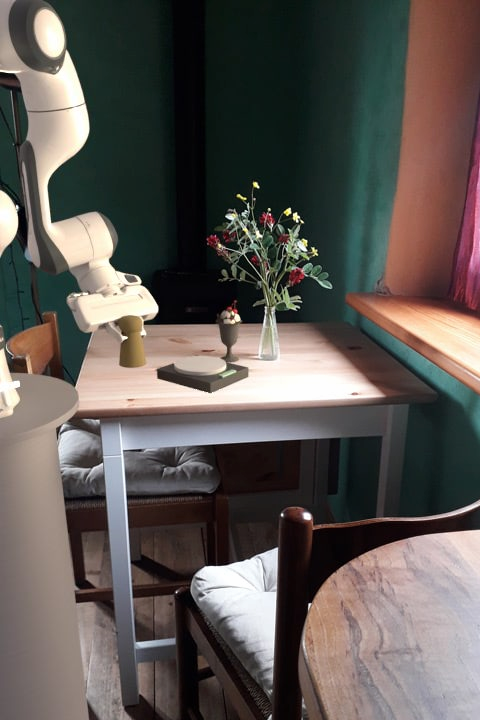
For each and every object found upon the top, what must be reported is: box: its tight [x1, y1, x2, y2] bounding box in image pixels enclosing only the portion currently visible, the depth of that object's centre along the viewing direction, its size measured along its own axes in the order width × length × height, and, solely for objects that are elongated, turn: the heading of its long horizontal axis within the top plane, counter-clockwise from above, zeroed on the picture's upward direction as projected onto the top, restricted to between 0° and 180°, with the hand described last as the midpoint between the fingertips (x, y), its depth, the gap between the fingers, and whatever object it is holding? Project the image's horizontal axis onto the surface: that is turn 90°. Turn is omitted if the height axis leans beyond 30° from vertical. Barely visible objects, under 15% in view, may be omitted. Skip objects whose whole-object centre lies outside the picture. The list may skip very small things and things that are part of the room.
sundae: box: [215, 300, 243, 363], centre depth 155 cm, size 7×7×15 cm
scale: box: [156, 354, 250, 394], centre depth 143 cm, size 14×16×3 cm
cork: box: [118, 315, 147, 369], centre depth 137 cm, size 6×6×11 cm
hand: (133, 339), depth 137 cm, fingers closed on cork, 4 cm apart
